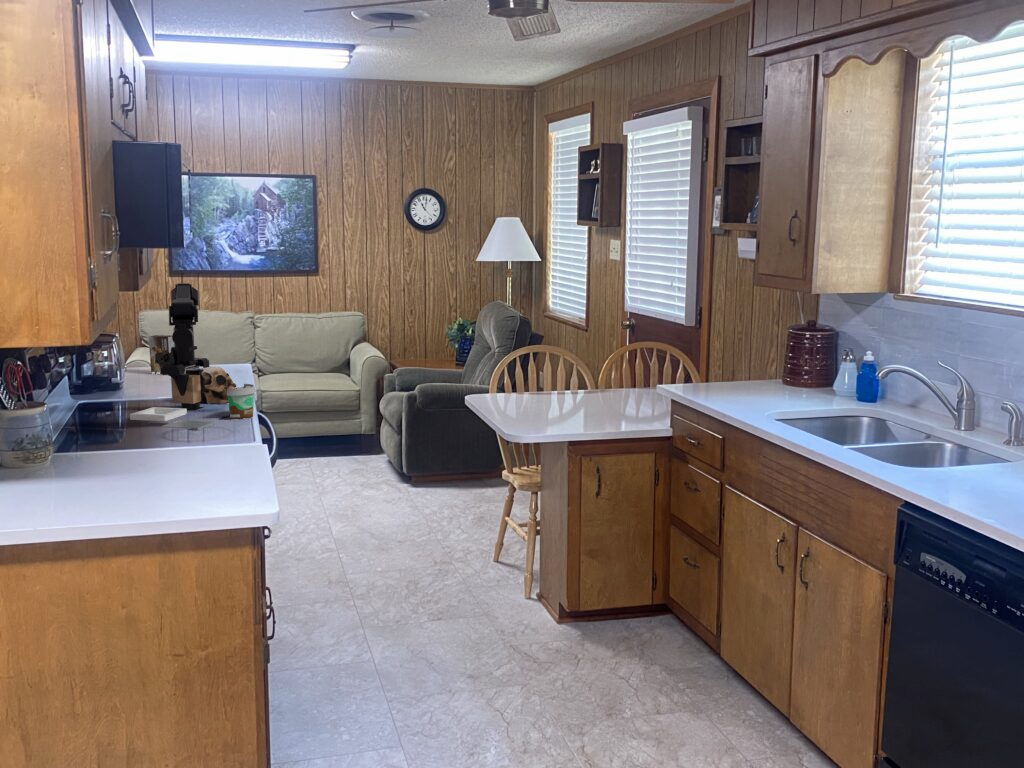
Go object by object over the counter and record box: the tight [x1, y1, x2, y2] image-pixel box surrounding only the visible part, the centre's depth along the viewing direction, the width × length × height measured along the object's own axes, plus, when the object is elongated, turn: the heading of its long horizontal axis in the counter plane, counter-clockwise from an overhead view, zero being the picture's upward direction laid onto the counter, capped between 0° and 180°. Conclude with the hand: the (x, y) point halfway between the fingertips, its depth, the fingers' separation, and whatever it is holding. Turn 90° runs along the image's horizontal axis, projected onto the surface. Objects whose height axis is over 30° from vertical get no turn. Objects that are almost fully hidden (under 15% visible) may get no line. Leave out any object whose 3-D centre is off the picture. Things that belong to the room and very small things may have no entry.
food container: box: [227, 383, 257, 420], centre depth 316 cm, size 12×6×10 cm, turn 168°
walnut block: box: [170, 375, 201, 404], centre depth 299 cm, size 4×7×8 cm, turn 78°
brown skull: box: [199, 365, 237, 403], centre depth 346 cm, size 16×17×13 cm
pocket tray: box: [129, 406, 188, 422], centre depth 314 cm, size 13×12×2 cm
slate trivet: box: [161, 419, 215, 431], centre depth 301 cm, size 10×12×1 cm
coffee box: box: [148, 334, 174, 373], centre depth 413 cm, size 9×6×16 cm
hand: (186, 394), depth 300 cm, fingers closed on walnut block, 4 cm apart
